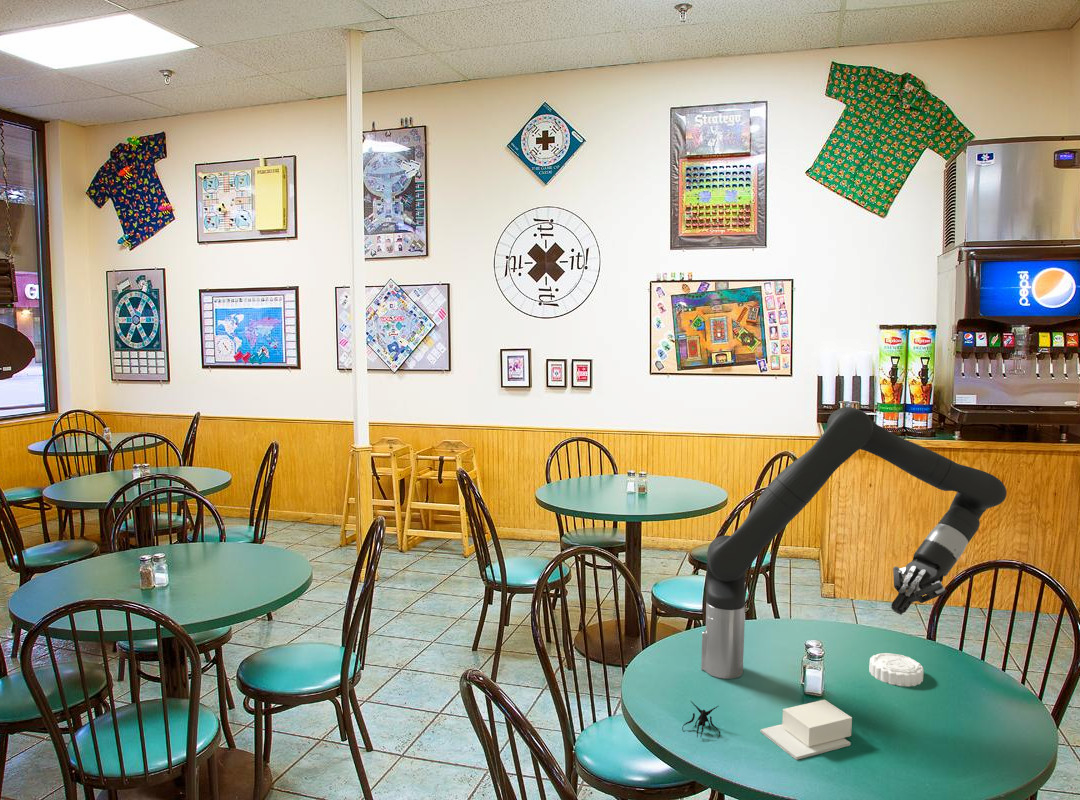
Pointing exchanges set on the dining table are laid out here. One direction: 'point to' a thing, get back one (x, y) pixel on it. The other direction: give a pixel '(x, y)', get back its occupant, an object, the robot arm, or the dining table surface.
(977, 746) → the dining table surface
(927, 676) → the dining table surface
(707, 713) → the creature
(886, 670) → the mooncake
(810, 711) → the cream rectangular block
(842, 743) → the mat
